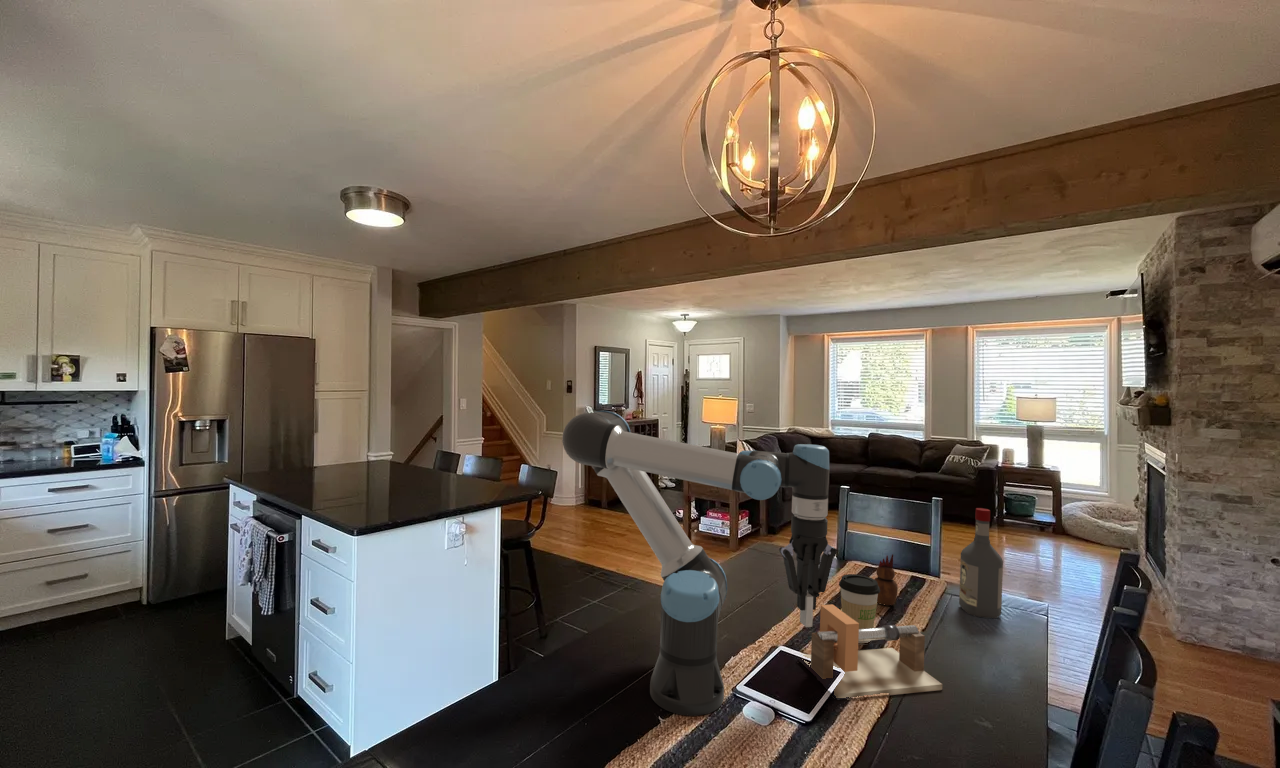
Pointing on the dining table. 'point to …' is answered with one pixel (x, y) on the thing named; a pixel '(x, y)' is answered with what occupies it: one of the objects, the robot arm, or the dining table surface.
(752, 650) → the dining table surface
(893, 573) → the wooden figurine
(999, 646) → the dining table surface
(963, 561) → the liquor
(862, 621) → the coffee cup
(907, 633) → the pipe
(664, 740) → the dining table surface
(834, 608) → the orange square ring
